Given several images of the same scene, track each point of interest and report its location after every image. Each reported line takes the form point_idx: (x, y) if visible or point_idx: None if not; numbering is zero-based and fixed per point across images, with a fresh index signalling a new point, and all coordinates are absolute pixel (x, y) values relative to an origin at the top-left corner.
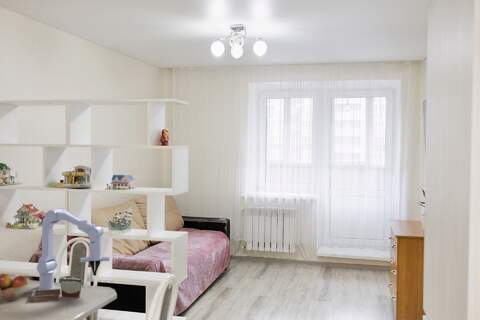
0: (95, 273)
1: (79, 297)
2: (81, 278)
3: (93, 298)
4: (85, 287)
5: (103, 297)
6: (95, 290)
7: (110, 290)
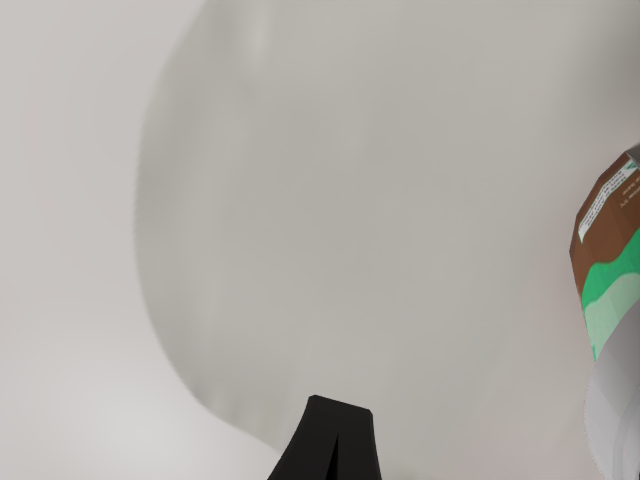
0: (317, 432)
1: (614, 166)
2: (637, 432)
3: (433, 46)
4: (385, 468)
5: (280, 27)
6: (312, 347)
7: (148, 273)
